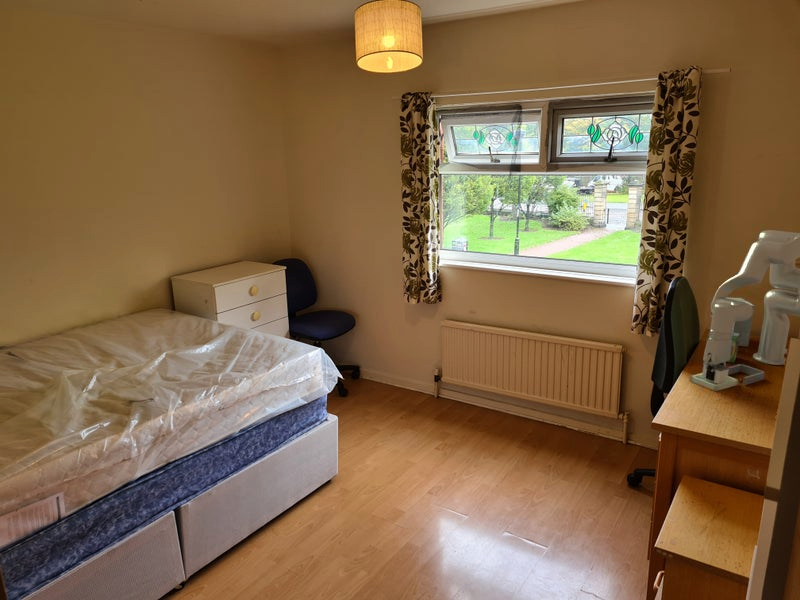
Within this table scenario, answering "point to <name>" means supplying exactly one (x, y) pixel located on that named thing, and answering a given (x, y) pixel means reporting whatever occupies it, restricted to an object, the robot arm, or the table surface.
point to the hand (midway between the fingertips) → (714, 377)
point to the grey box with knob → (718, 373)
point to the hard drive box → (743, 326)
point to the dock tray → (713, 385)
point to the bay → (754, 373)
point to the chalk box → (734, 346)
